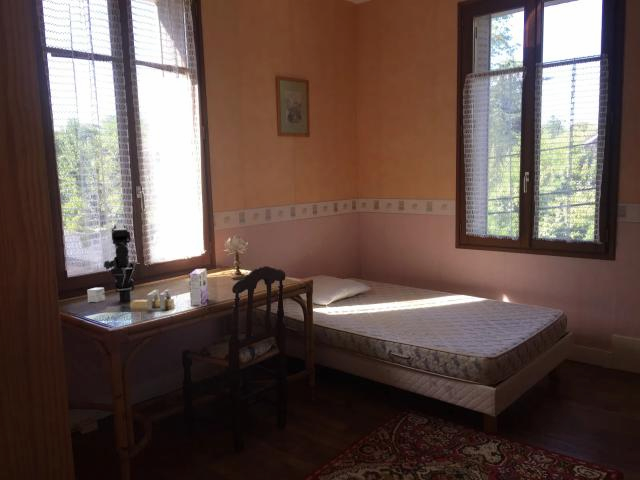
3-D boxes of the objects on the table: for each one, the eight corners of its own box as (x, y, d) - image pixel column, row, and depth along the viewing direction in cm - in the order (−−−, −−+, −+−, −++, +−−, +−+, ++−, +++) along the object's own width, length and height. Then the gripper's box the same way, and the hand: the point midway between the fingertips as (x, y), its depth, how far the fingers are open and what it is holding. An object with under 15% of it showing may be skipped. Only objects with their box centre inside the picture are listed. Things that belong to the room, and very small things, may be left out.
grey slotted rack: (108, 308, 268) (106, 290, 267) (175, 306, 267) (174, 289, 266) (97, 314, 256) (96, 296, 255) (168, 313, 255) (167, 294, 254)
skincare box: (97, 304, 278) (96, 290, 277) (87, 303, 280) (86, 289, 279) (105, 301, 284) (104, 287, 283) (96, 300, 286) (95, 287, 285)
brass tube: (133, 307, 263) (133, 299, 263) (174, 306, 263) (173, 298, 262) (130, 309, 259) (130, 301, 259) (171, 308, 259) (171, 300, 258)
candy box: (197, 299, 281) (195, 268, 279) (208, 299, 281) (206, 268, 279) (190, 306, 268) (188, 273, 266) (202, 305, 268) (200, 273, 265)
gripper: (112, 251, 272) (115, 281, 275) (97, 257, 254) (100, 290, 256) (134, 250, 272) (136, 280, 275) (121, 257, 254) (123, 289, 256)
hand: (124, 285), depth 265 cm, fingers open, 9 cm apart
